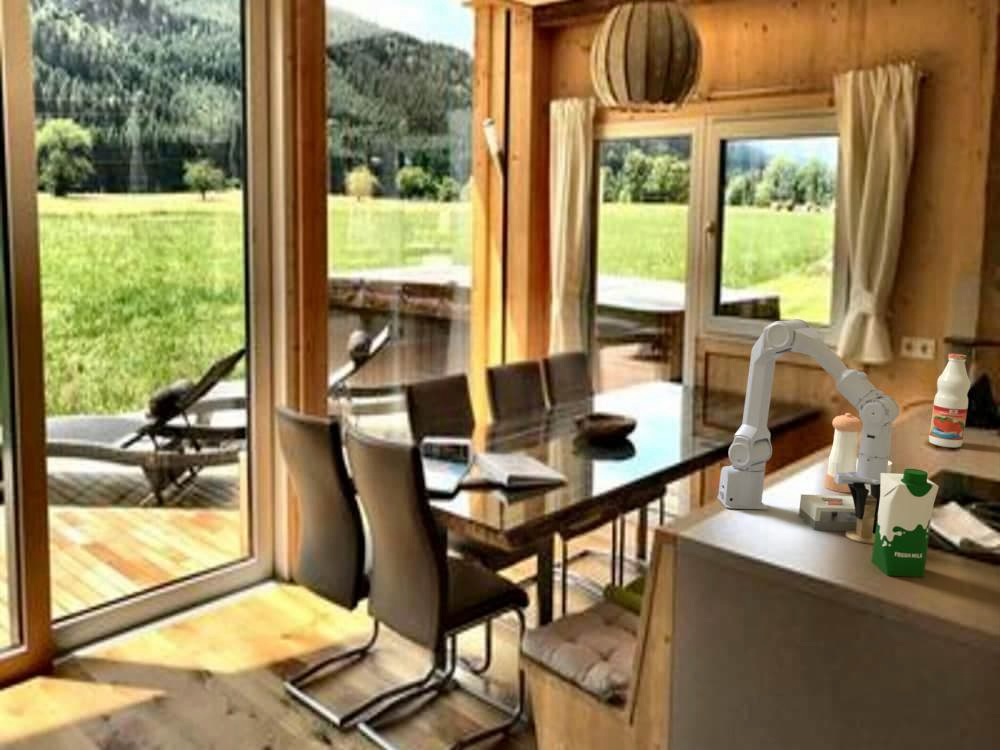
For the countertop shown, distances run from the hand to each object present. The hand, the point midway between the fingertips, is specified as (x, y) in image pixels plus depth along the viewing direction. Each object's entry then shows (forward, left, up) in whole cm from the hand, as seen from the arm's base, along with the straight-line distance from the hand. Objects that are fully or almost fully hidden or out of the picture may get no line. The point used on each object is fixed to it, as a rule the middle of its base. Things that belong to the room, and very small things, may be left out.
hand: (865, 517), depth 190 cm
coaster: (0, 0, -4) cm, 4 cm away
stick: (0, 0, -4) cm, 4 cm away
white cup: (+13, +26, -5) cm, 29 cm away
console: (-3, +8, -4) cm, 10 cm away
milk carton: (-1, -17, -5) cm, 18 cm away
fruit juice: (+65, +88, -5) cm, 109 cm away
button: (-3, +9, -2) cm, 9 cm away
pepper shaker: (+10, +36, -5) cm, 38 cm away
